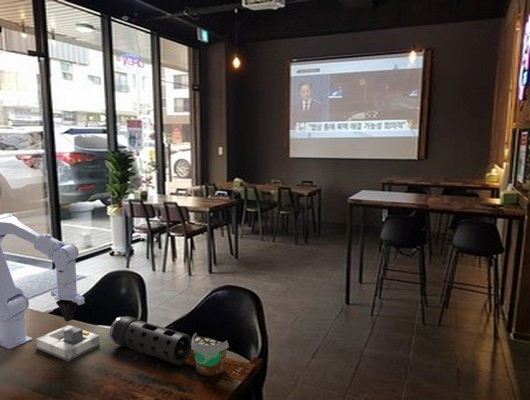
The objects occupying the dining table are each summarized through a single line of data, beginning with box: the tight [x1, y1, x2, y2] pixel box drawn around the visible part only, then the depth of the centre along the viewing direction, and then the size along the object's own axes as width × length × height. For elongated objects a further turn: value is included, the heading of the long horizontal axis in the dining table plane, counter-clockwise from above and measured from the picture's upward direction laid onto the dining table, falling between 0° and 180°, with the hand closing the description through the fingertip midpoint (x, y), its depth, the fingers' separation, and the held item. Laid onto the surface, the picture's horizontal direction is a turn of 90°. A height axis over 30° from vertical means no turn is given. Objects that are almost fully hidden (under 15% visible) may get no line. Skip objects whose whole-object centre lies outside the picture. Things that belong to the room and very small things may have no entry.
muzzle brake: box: [109, 315, 193, 367], centre depth 134 cm, size 10×28×10 cm, turn 61°
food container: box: [191, 332, 230, 377], centre depth 124 cm, size 12×6×10 cm, turn 65°
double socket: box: [35, 324, 101, 362], centre depth 138 cm, size 16×12×4 cm
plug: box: [64, 326, 84, 345], centre depth 136 cm, size 4×4×6 cm
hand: (68, 320), depth 138 cm, fingers closed
